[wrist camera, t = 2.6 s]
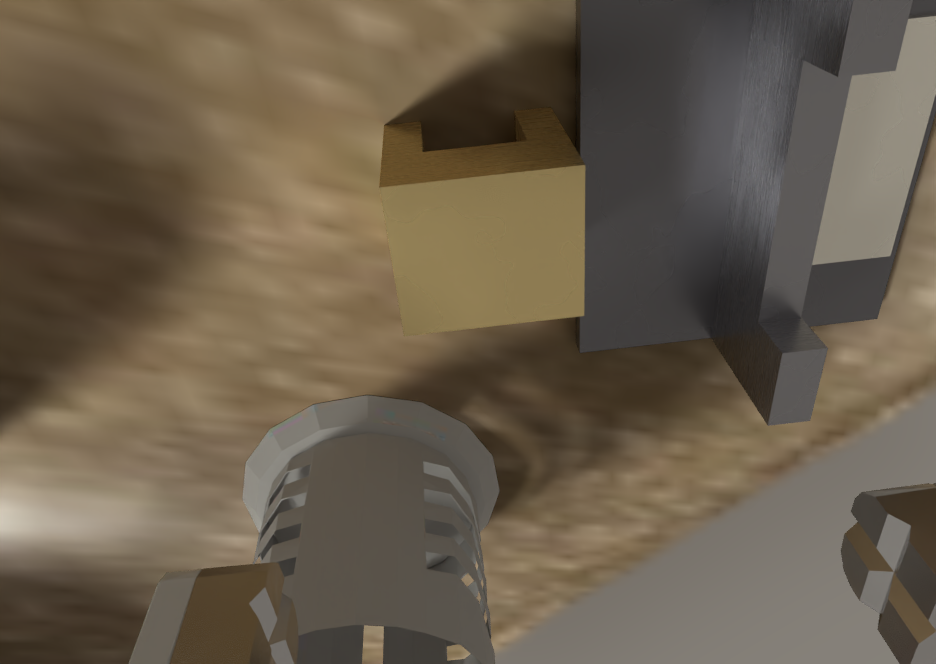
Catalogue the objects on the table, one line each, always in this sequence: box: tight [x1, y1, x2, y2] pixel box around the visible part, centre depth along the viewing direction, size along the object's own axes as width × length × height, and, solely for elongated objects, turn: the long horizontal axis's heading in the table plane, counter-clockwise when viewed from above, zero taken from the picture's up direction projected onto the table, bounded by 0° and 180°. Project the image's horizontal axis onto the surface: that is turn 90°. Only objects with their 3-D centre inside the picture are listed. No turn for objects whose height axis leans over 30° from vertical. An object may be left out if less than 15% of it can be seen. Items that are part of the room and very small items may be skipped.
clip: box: [379, 107, 585, 336], centre depth 19 cm, size 4×5×4 cm
